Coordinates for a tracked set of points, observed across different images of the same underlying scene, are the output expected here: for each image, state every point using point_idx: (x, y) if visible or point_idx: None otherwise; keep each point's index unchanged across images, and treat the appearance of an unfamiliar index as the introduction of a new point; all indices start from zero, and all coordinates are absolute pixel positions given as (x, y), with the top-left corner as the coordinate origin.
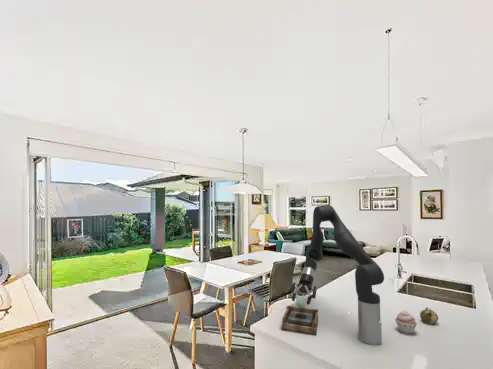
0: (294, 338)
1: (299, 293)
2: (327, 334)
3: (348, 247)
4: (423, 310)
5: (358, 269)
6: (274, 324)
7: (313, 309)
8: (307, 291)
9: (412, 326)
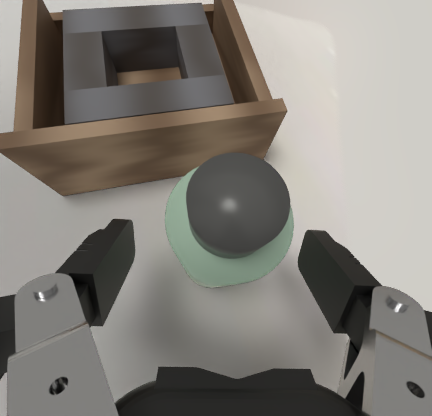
0: (148, 5)
1: (235, 158)
2: (3, 76)
3: None
4: None
5: None
6: (273, 65)
7: (45, 131)
8: (73, 342)
9: None
